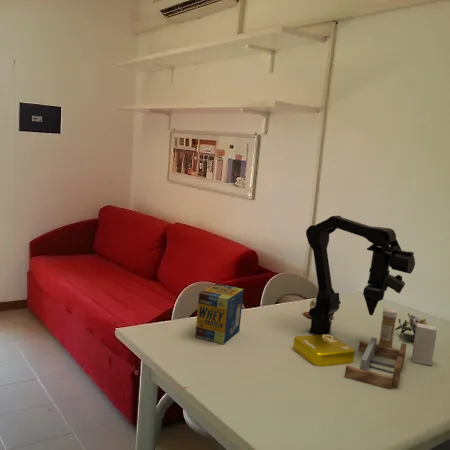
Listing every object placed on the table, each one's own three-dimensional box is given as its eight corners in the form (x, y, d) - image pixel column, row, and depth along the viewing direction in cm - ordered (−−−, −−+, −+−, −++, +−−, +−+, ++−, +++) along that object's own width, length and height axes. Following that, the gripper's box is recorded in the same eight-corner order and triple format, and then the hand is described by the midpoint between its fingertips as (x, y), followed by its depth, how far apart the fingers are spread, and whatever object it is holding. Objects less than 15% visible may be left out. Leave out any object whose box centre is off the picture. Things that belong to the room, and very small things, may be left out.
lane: (344, 376, 144) (347, 357, 143) (359, 349, 167) (361, 332, 166) (396, 390, 138) (399, 370, 138) (404, 360, 161) (407, 342, 160)
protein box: (194, 338, 164) (198, 292, 161) (213, 324, 178) (216, 283, 176) (223, 345, 160) (228, 299, 158) (240, 331, 174) (244, 288, 172)
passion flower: (418, 356, 180) (426, 338, 171) (388, 344, 184) (394, 325, 176) (426, 333, 186) (434, 314, 178) (397, 322, 191) (404, 303, 182)
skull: (339, 320, 193) (324, 300, 191) (318, 335, 194) (302, 315, 192) (332, 309, 205) (318, 290, 203) (311, 323, 206) (297, 305, 204)
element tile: (290, 348, 163) (291, 334, 162) (328, 345, 169) (329, 331, 169) (315, 368, 150) (317, 353, 149) (355, 363, 156) (357, 349, 155)
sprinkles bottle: (394, 349, 170) (400, 311, 168) (386, 351, 167) (391, 313, 166) (383, 344, 174) (389, 307, 172) (375, 346, 171) (380, 308, 169)
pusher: (358, 377, 144) (361, 359, 144) (369, 353, 164) (372, 337, 163) (396, 386, 140) (399, 368, 139) (403, 361, 159) (405, 344, 159)
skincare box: (430, 361, 162) (436, 326, 161) (431, 366, 158) (437, 330, 157) (411, 357, 164) (416, 322, 162) (411, 361, 160) (416, 326, 158)
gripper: (403, 276, 151) (395, 325, 154) (407, 265, 169) (399, 309, 171) (366, 269, 156) (359, 316, 158) (373, 259, 173) (366, 302, 175)
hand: (372, 311), depth 165 cm, fingers open, 9 cm apart
